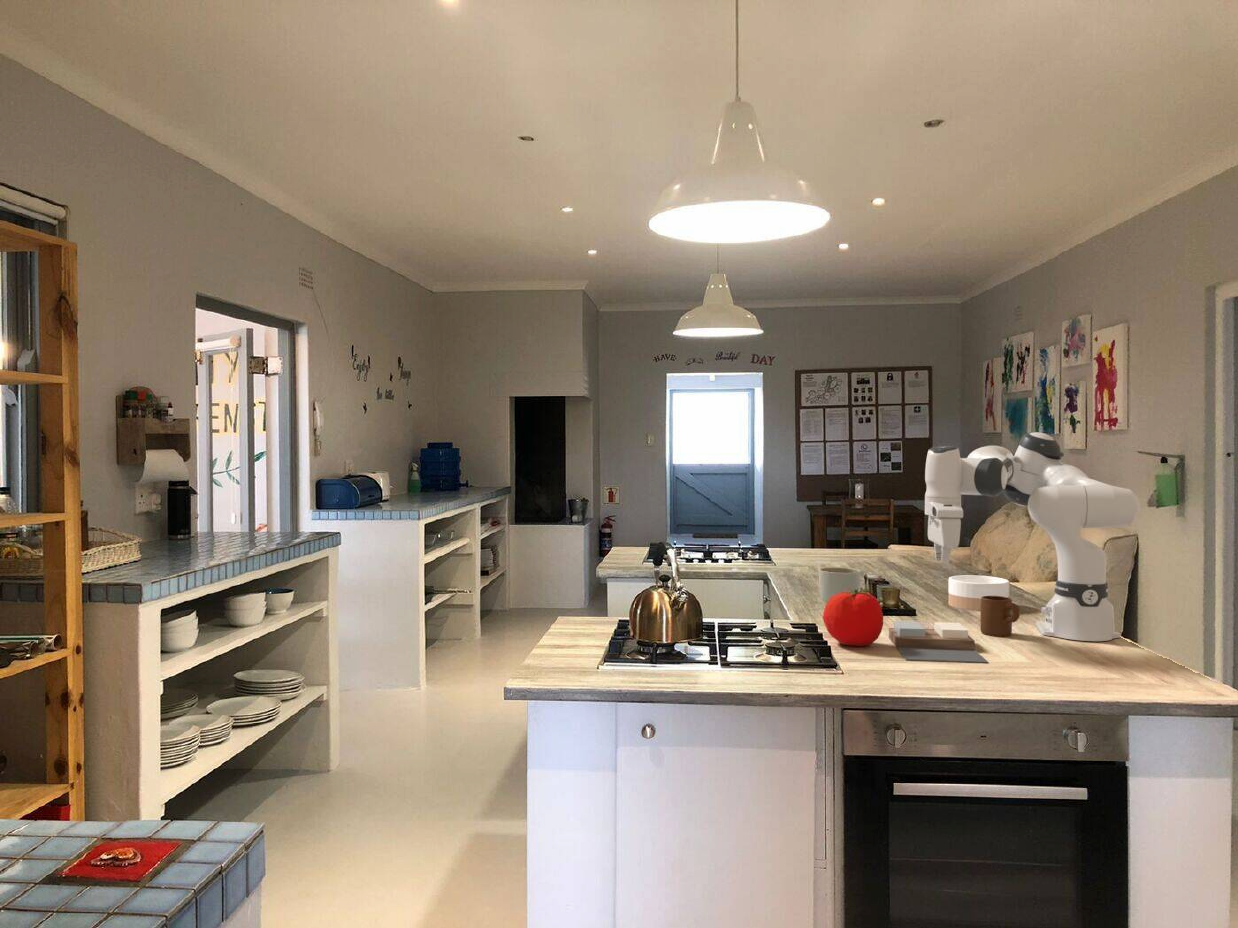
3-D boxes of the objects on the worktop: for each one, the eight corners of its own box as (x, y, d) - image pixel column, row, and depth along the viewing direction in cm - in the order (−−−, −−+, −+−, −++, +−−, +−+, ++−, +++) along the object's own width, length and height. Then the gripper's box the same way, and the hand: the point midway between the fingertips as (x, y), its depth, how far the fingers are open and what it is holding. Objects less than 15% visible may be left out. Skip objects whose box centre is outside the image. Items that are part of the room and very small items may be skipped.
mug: (1030, 639, 226) (1031, 602, 226) (1005, 641, 224) (1006, 604, 224) (998, 630, 238) (998, 594, 237) (974, 631, 235) (974, 596, 235)
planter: (865, 608, 267) (865, 572, 267) (824, 609, 267) (824, 572, 267) (853, 601, 280) (854, 567, 279) (814, 601, 279) (814, 567, 279)
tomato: (895, 647, 217) (895, 591, 217) (854, 654, 210) (855, 596, 210) (847, 635, 231) (847, 582, 230) (808, 641, 223) (808, 587, 223)
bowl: (969, 612, 263) (969, 584, 262) (937, 602, 279) (937, 575, 279) (1021, 610, 266) (1021, 582, 266) (986, 600, 283) (986, 574, 283)
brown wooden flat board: (888, 637, 228) (888, 627, 228) (962, 639, 225) (962, 630, 225) (896, 648, 216) (897, 638, 216) (974, 650, 213) (974, 640, 213)
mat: (896, 648, 216) (896, 647, 216) (974, 650, 213) (974, 649, 213) (906, 660, 204) (906, 658, 204) (988, 663, 202) (988, 661, 202)
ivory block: (934, 630, 225) (934, 622, 225) (959, 630, 224) (959, 622, 224) (942, 637, 216) (942, 629, 216) (968, 638, 216) (968, 630, 215)
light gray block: (893, 628, 227) (893, 621, 227) (918, 629, 226) (918, 621, 226) (899, 636, 218) (899, 628, 218) (925, 637, 217) (925, 629, 217)
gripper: (922, 505, 241) (921, 556, 241) (938, 511, 221) (938, 566, 221) (946, 505, 240) (945, 556, 240) (965, 511, 220) (964, 567, 220)
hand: (942, 561), depth 230 cm, fingers open, 5 cm apart
